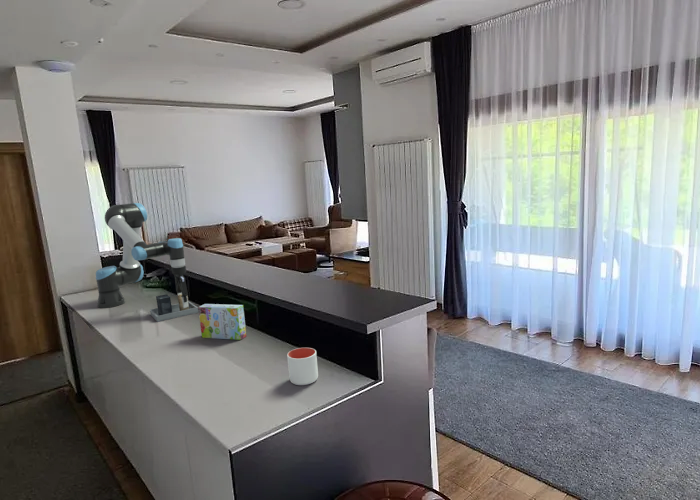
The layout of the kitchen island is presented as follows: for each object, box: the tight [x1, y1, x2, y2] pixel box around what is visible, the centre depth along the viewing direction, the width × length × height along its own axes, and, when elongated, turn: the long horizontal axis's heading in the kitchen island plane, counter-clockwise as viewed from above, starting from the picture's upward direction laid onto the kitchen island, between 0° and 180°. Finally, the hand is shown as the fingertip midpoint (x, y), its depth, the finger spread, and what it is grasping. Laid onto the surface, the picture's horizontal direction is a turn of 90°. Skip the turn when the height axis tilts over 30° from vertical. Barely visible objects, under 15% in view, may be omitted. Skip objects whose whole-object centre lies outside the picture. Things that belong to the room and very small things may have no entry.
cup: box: [286, 347, 319, 386], centre depth 155 cm, size 10×10×10 cm
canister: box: [177, 294, 189, 311], centre depth 251 cm, size 5×5×9 cm
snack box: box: [197, 303, 247, 341], centre depth 204 cm, size 21×6×15 cm, turn 71°
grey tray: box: [149, 300, 199, 323], centre depth 249 cm, size 18×22×3 cm
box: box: [155, 293, 172, 315], centre depth 245 cm, size 8×6×11 cm
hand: (183, 305), depth 251 cm, fingers open, 8 cm apart
